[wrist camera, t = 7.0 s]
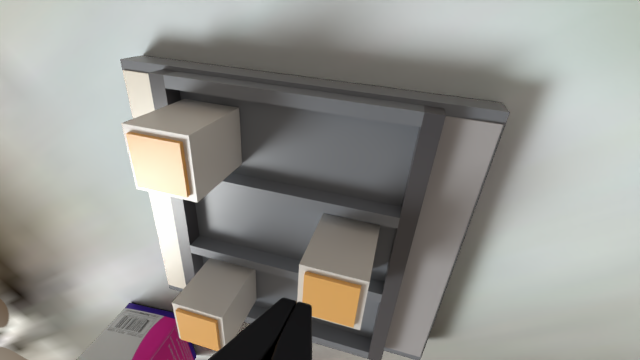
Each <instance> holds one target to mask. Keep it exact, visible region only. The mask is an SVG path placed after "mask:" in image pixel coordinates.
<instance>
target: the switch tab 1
mask: <svg viewBox="0 0 640 360" xmlns="http://www.w3.org/2000/svg"><path fill="white" fill-rule="evenodd" d="M121 124H122V128H123V133H124V137H125V141H126V145H127V150H128V154H129V158H130V162H131V167H132V171H133V175H134V180H135V184H136V188H137V189H139V190H144V191H148V192H153V193H157V194H161V195H166V196H170V197H175V198H179V199H183V200H188V201H192V202H197V203H198V202H199V201H200V200H201V199H202V198H203V197H205V196H206V195H207V194H208V193H209V192H210V191H211V190H213V189H214V188H215V187H216V186H217V185H218V184H219V183H221V182H222V181H223V180H224V179H225V178H226V177H227V176H229V175H230V174H231V173H232V172H233V171H234V170H235V169H237V168H238V167H239V166H240V165H241V164H242V153H241V133H240V113H239V108H238V107H232V106H226V105H219V104H213V103H207V102H200V101H194V100H188V99H183V100H180V101H178V102H175V103H173V104H170V105H167V106H165V107H162V108H160V109H157V110H154V111H152V112H149V113H147V114H144V115H142V116H139V117H136V118H134V119H131V120H129V121H126V122H124V123H121Z"/></svg>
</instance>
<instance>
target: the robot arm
mask: <svg viewBox="0 0 640 360" xmlns="http://www.w3.org/2000/svg"><path fill="white" fill-rule="evenodd" d="M208 360H312V306H311V305H310V304H307V303H303V302H296V301H295V300H292V299H289V298H285V297H283V298H281V299H280V300H278V301H277V302H276V303H275V304H274V305H272V306H271V307H270V308H269V309H268V310H266V311H265V312H264V313H263V314H262V315H260V316H259V317H258V318H257V319H256V320H255V321H253V322H252V323H251V324H250V325H249V326H247V327H246V328H245V329H244V330H243V331H241V332H240V333H239V334H238V335H237V336H235V337H234V338H233V339H232V340H231V341H229V342H228V343H227V344H226V345H225V346H224V347H222V348H221V349H220V350H219V351H218V352H216V353H215V354H214V355H213V356H212V357H210V358H209V359H208Z"/></svg>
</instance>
